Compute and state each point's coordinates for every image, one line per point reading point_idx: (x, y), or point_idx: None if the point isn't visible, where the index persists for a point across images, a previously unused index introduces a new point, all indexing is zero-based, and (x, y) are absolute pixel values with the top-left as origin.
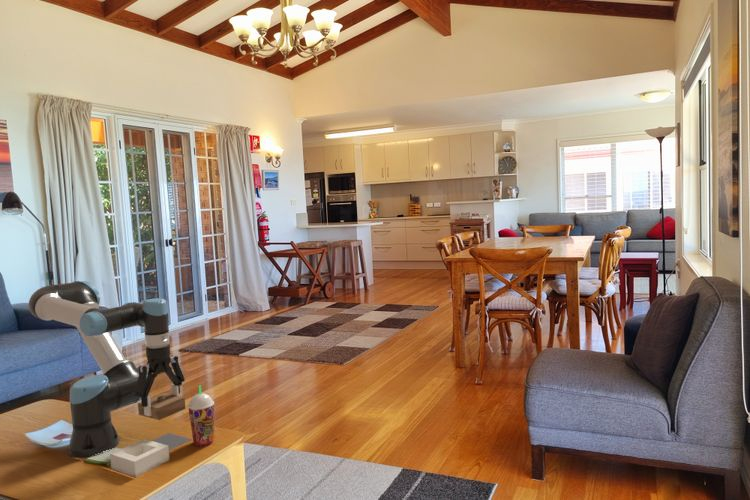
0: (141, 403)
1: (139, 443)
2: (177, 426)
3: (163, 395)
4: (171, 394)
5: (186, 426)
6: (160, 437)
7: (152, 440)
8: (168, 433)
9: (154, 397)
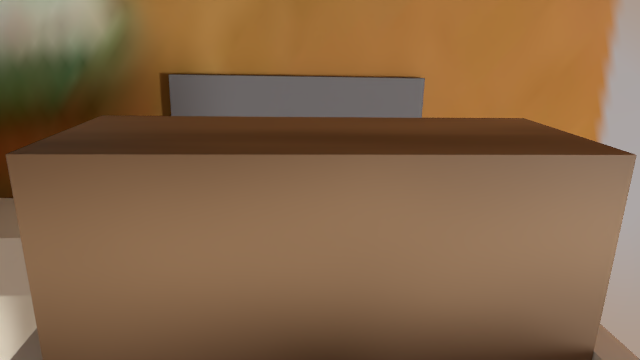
0: (43, 236)
1: (26, 283)
2: (548, 20)
3: (516, 261)
4: (593, 345)
5: (566, 85)
6: (343, 90)
7: (281, 81)
8: (415, 86)
9: (376, 196)
